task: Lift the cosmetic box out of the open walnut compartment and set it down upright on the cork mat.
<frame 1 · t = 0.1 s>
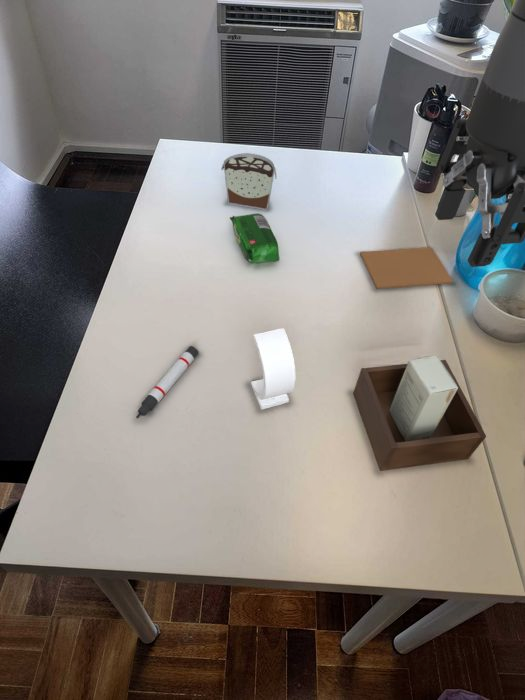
hand: (459, 239, 52), 31 cm above the table, tool pointing down, fingers open, 8 cm apart
snack package: (253, 248, 99), on the table
headphone stand: (270, 396, 74), on the table
compartment: (407, 424, 72), on the table
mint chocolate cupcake: (250, 200, 111), on the table
marker: (167, 386, 75), on the table
cosmetic box: (408, 423, 72), resting on compartment
mat: (404, 268, 97), on the table
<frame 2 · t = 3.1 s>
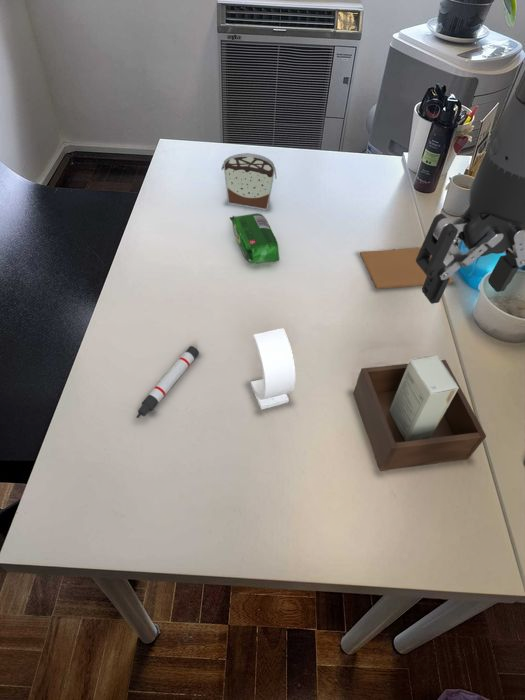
hand: (463, 292, 53), 26 cm above the table, tool pointing down, fingers open, 8 cm apart
nothing on the table moved.
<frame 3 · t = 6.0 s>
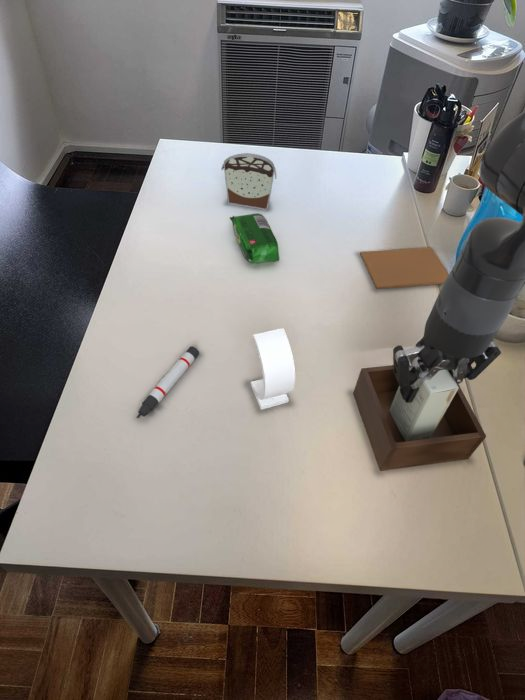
hand: (423, 395, 66), 8 cm above the table, tool pointing down, fingers closed on cosmetic box, 4 cm apart
cosmetic box: (408, 423, 72), resting on compartment, touching gripper
everything else where it was.
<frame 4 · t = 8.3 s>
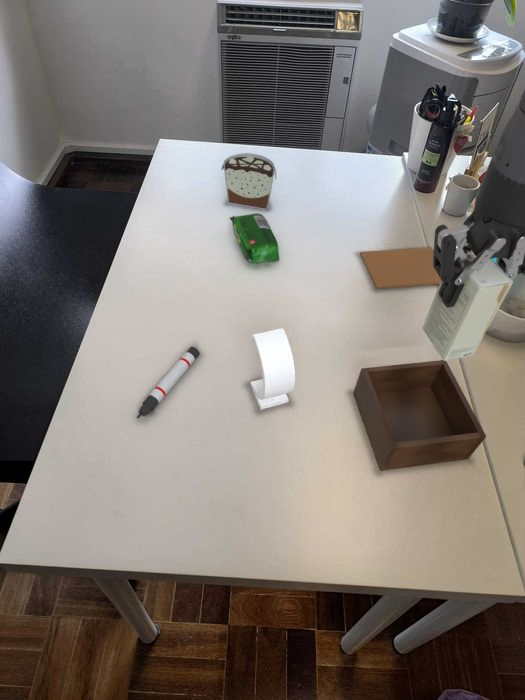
hand: (466, 299, 55), 24 cm above the table, tool pointing down, fingers closed on cosmetic box, 4 cm apart
cosmetic box: (445, 341, 61), point 16 cm above the table, touching gripper
everything else where it was.
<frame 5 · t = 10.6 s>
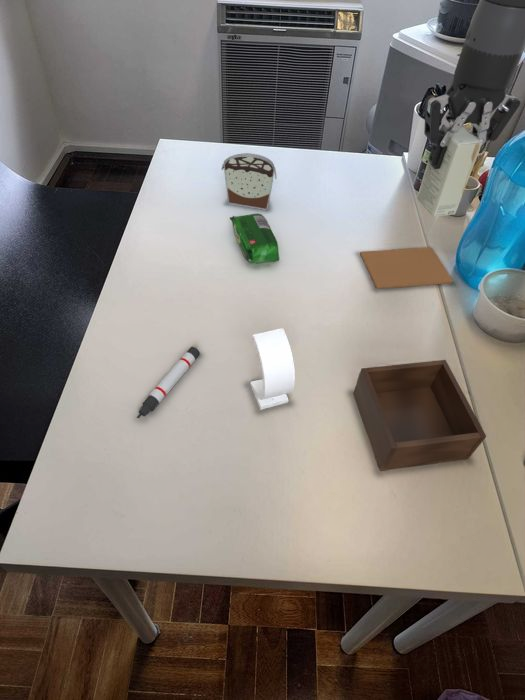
hand: (449, 165, 74), 25 cm above the table, tool pointing down, fingers closed on cosmetic box, 4 cm apart
cosmetic box: (434, 207, 80), point 18 cm above the table, touching gripper
everything else where it was.
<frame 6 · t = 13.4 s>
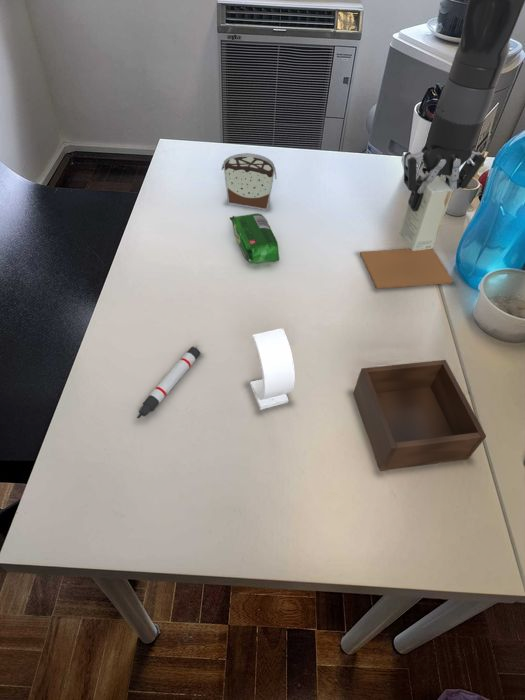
hand: (426, 207, 86), 14 cm above the table, tool pointing down, fingers closed on cosmetic box, 4 cm apart
cosmetic box: (414, 241, 92), point 7 cm above the table, touching gripper
everything else where it was.
when the fingers open (8 cm above the table, at t = 15.4 s): cosmetic box stays where it is, resting on mat.
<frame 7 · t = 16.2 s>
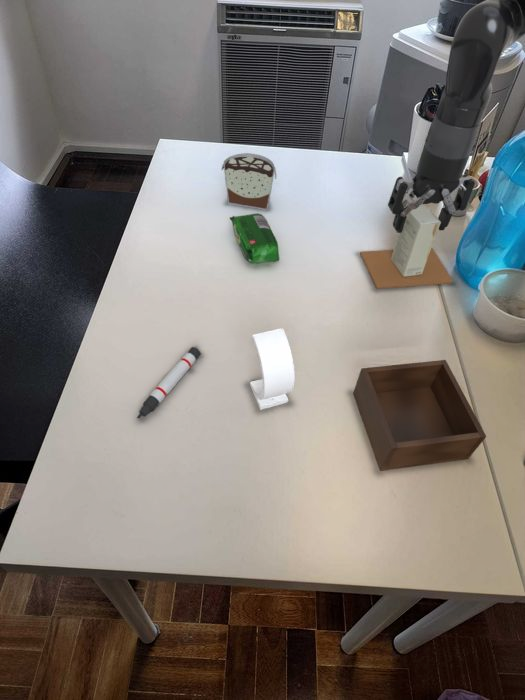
hand: (418, 229, 90), 10 cm above the table, tool pointing down, fingers open, 8 cm apart
cosmetic box: (405, 267, 96), resting on mat
everything else where it was.
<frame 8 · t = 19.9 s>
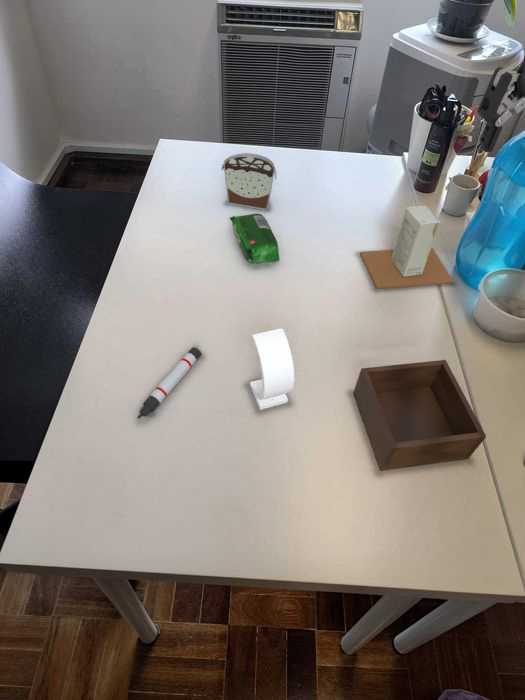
hand: (512, 148, 68), 30 cm above the table, tool pointing down, fingers open, 8 cm apart
nothing on the table moved.
at the end: cosmetic box inside the target area on the mat (0.1 cm from its centre), point 0.4 cm above the mat's base; cosmetic box tilted 0°; cosmetic box touching mat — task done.
